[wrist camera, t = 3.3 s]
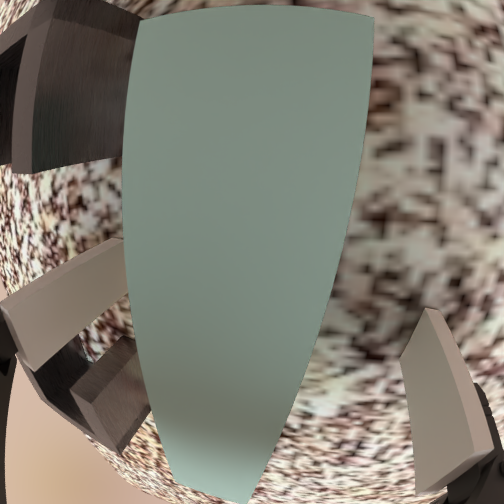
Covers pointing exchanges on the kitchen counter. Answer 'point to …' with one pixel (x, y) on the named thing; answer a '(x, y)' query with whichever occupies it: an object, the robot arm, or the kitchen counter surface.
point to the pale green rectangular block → (237, 219)
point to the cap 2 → (95, 390)
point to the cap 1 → (65, 84)
